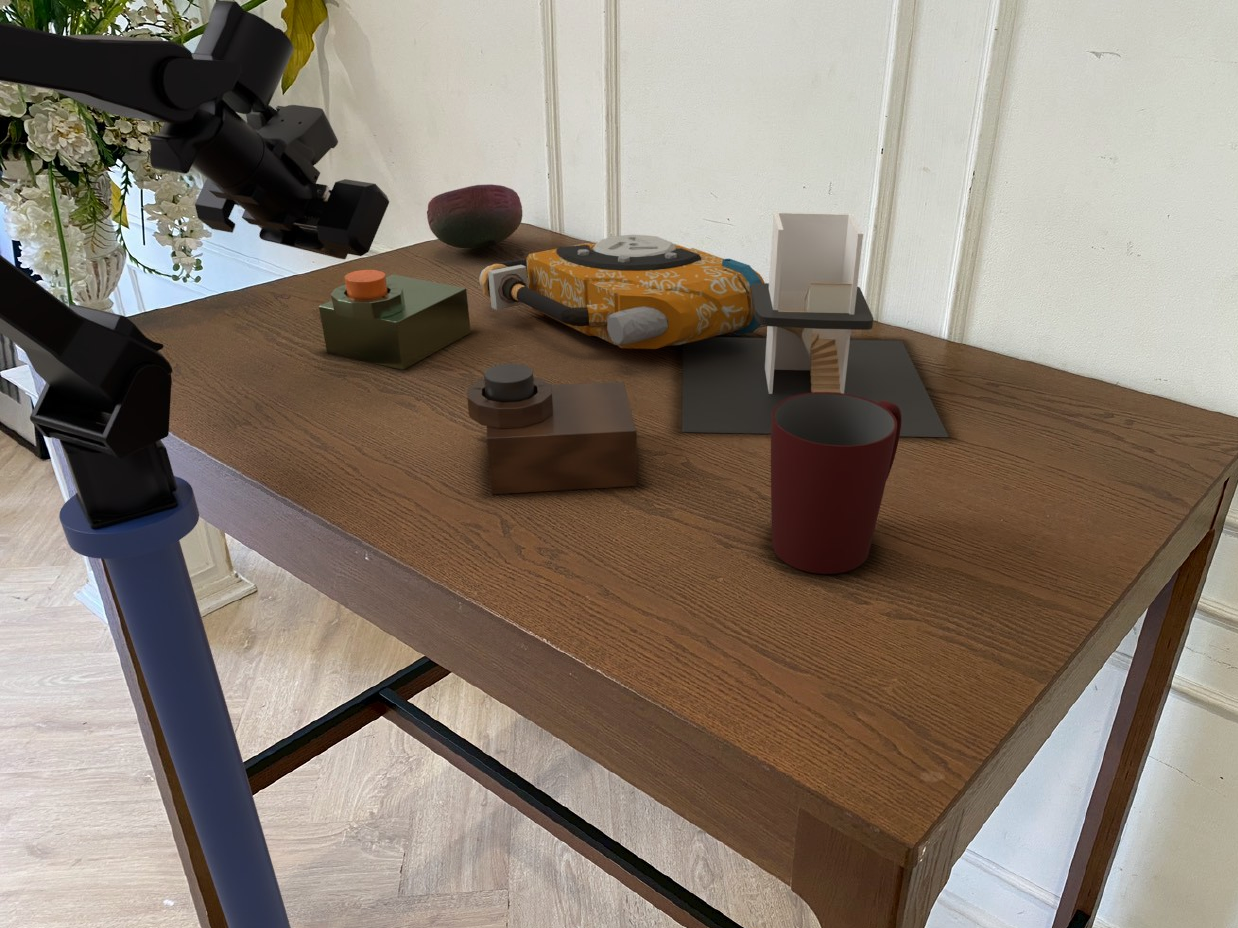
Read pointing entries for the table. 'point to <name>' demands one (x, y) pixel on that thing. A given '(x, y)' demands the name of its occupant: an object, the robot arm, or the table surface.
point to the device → (630, 290)
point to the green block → (395, 322)
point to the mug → (829, 477)
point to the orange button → (366, 284)
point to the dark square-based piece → (803, 340)
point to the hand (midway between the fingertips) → (344, 254)
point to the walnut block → (558, 437)
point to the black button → (509, 383)
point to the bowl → (475, 215)
